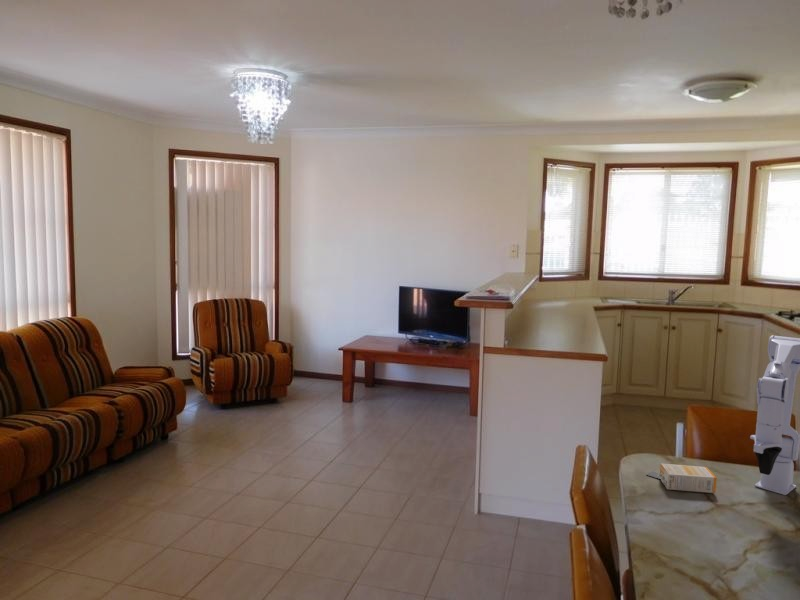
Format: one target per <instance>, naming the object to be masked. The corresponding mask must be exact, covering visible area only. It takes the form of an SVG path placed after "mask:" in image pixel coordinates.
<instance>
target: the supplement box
mask: <svg viewBox="0 0 800 600" xmlns="http://www.w3.org/2000/svg"><path fill="white" fill-rule="evenodd" d="M659 465H660V466H659V468H660V473H659V478H660V479H661V480H660V481H661V483H662V484H663V486H665V488H666V490H670V491H671V490H673V491H683V492H684V491H685V492H694V493H695V492H697V493H709V494H716V492H717V482H718V481H717V480H718V479H717V476H715V474H714V473H713V472H712V471H711V470H710V469H709V468H708V467H707V466H701V465H700V466H696V465H684V464H674V463H673V464H671V463H660V464H659Z"/></svg>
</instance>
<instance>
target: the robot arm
mask: <svg viewBox="0 0 800 600" xmlns="http://www.w3.org/2000/svg"><path fill="white" fill-rule="evenodd" d="M767 354H768V360H769V363H768V364H767V366H766V368H765V371H764V374H763V376H762V377H759V378H758V381H757V382H756V383H757V384H756V405H758V406H757V412H756V413H757V415H756V425H755V434H751V435H750V437H749V438H750V439H751V440H753V441H754V444H753V446H752V450H753V453H754V454H755V456H756V459H757V464H758V470H759V474H760V480H759V481H758V482H756V483H755V484H754V486H755V488H760V489H764V490H766V491H769V492H774V493H777V494H780V495H783V496H786V495H788V494H789V493H791V492H792V491H793V490H794V489H795V488H796V487H797V485H796V484H793V483H794V482H793V479H794V471H795V469H794V468H795V466H794V465H795V464H794V462H795V461H797V460H798V459H799V456H800V455H799V454H800V433H799V432H798V431H797V430H796V429H795V428H793V426H791V419H792V411H793V404H794V397H795V389H796V382H797V376H798V374H799V372H800V337H799V338H798V337H793V336H791V337H789V336H780V335H775V334H772V335H770V336H769V338H768V343H767Z"/></svg>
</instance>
